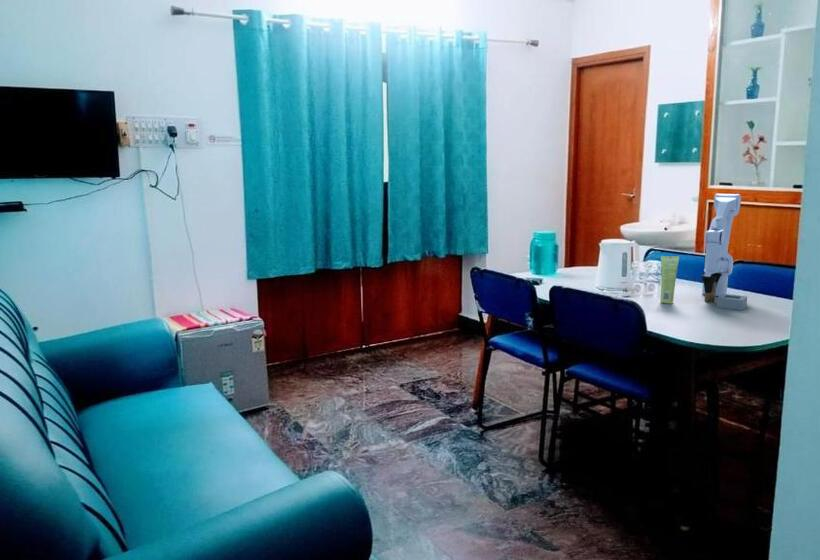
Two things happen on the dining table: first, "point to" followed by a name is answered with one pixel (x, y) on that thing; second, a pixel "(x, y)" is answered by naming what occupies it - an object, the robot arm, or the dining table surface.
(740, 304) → the socket block
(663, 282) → the tube
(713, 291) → the peg
